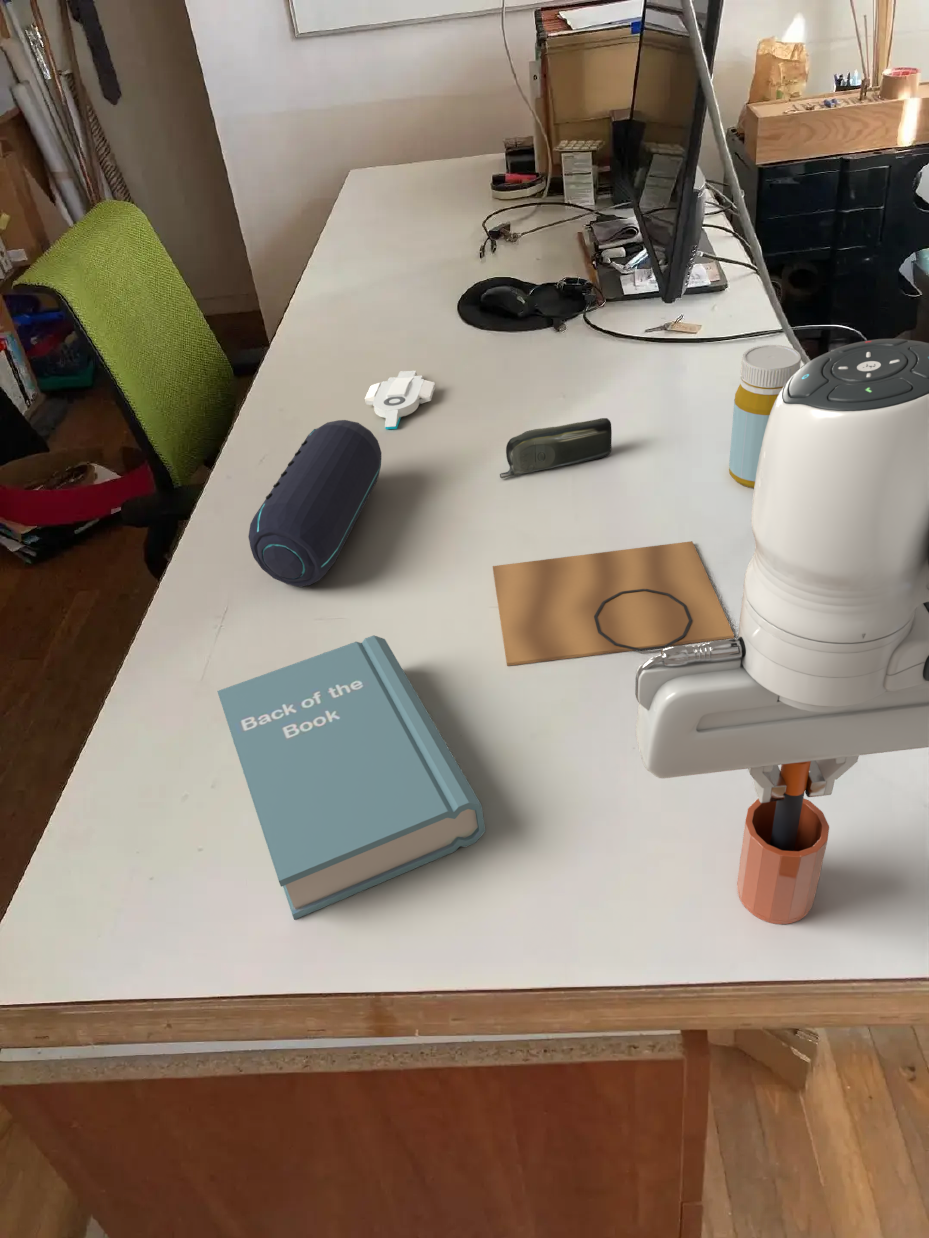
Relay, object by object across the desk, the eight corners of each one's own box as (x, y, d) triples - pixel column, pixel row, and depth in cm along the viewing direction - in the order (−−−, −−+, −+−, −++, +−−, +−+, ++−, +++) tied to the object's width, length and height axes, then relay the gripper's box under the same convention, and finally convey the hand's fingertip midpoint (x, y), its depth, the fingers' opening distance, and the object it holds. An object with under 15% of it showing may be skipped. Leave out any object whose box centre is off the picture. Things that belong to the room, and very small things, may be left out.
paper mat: (692, 544, 102) (692, 540, 101) (736, 642, 89) (736, 638, 88) (492, 568, 102) (492, 565, 102) (507, 670, 89) (507, 666, 89)
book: (232, 729, 87) (217, 691, 84) (391, 670, 91) (383, 631, 88) (294, 919, 70) (278, 880, 67) (486, 837, 74) (480, 797, 71)
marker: (784, 872, 68) (806, 743, 59) (791, 891, 66) (815, 762, 58) (760, 874, 68) (779, 746, 59) (768, 894, 66) (788, 765, 58)
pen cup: (798, 857, 70) (812, 788, 65) (824, 920, 66) (841, 851, 61) (728, 865, 70) (736, 797, 65) (749, 929, 66) (760, 861, 61)
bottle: (717, 480, 111) (725, 362, 101) (747, 454, 115) (758, 338, 105) (770, 497, 107) (785, 376, 97) (800, 470, 111) (817, 351, 101)
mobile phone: (606, 412, 117) (492, 436, 115) (615, 422, 115) (500, 447, 112) (605, 447, 120) (495, 471, 118) (615, 458, 118) (502, 482, 115)
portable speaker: (321, 478, 121) (304, 409, 115) (394, 479, 119) (381, 408, 113) (249, 598, 103) (225, 523, 97) (334, 601, 101) (315, 525, 94)
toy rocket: (378, 381, 142) (375, 367, 141) (440, 378, 141) (438, 364, 139) (355, 432, 130) (352, 417, 129) (423, 429, 129) (421, 414, 127)
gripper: (648, 692, 50) (643, 849, 58) (1031, 646, 49) (969, 811, 58) (624, 618, 55) (624, 773, 63) (973, 575, 54) (924, 737, 63)
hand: (791, 791), depth 61 cm, fingers closed on marker, 2 cm apart
